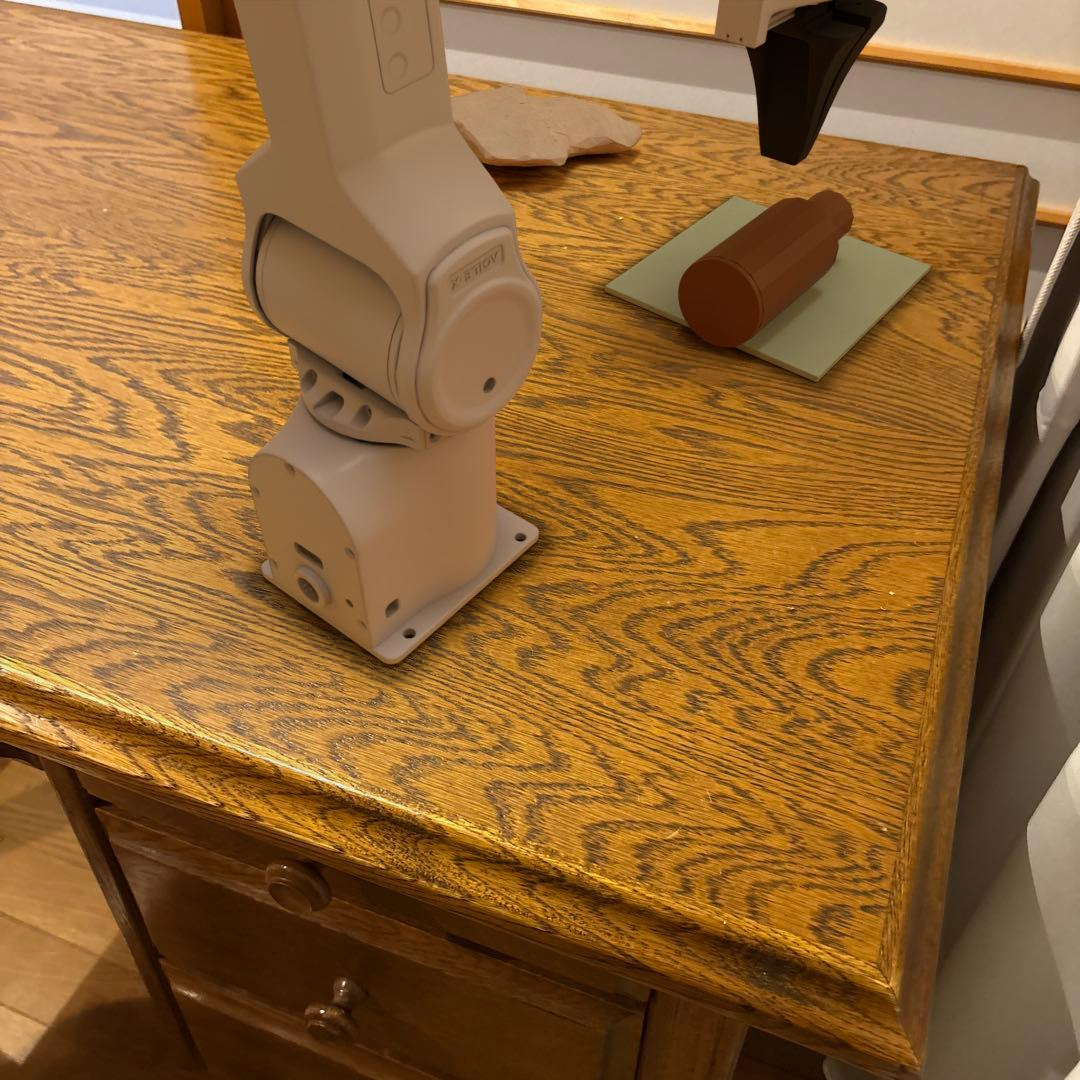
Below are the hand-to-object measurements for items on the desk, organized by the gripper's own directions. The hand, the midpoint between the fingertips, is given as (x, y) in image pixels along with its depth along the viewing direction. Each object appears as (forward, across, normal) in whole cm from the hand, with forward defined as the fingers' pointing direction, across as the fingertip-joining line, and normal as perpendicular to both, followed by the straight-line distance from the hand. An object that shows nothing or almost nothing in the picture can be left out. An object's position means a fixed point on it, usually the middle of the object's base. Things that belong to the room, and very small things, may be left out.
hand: (783, 156), depth 50 cm
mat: (+9, -4, -1) cm, 10 cm away
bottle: (+6, +5, 0) cm, 8 cm away
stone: (+10, -9, -24) cm, 27 cm away
